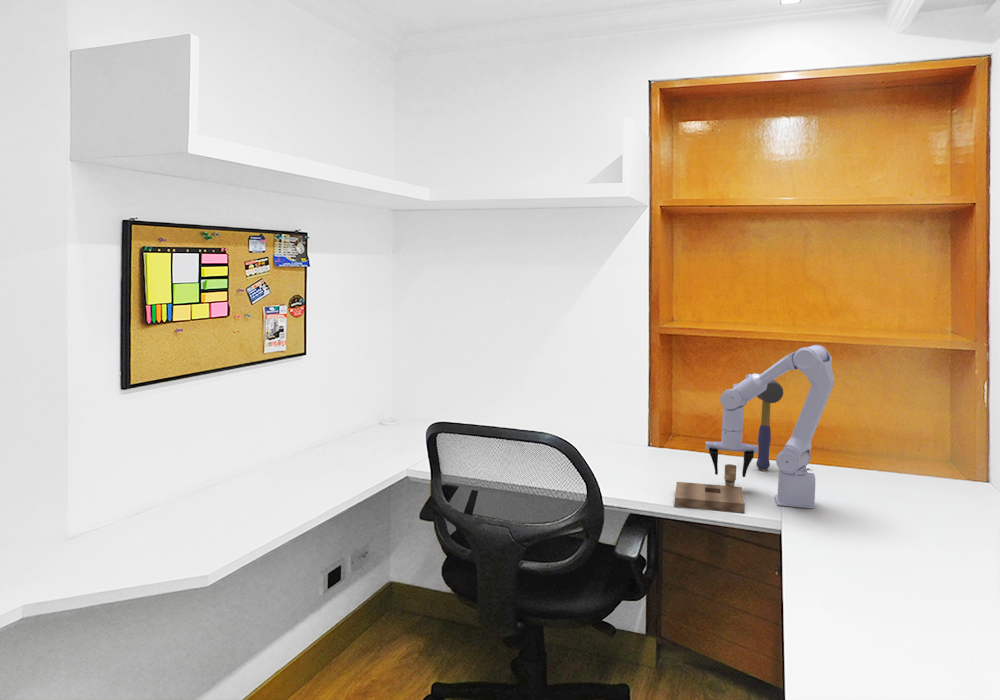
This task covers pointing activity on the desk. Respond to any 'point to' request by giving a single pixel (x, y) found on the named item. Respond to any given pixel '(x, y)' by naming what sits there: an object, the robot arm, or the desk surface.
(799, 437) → the robot arm
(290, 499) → the desk surface
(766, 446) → the rubber mallet
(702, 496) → the board
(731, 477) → the peg
